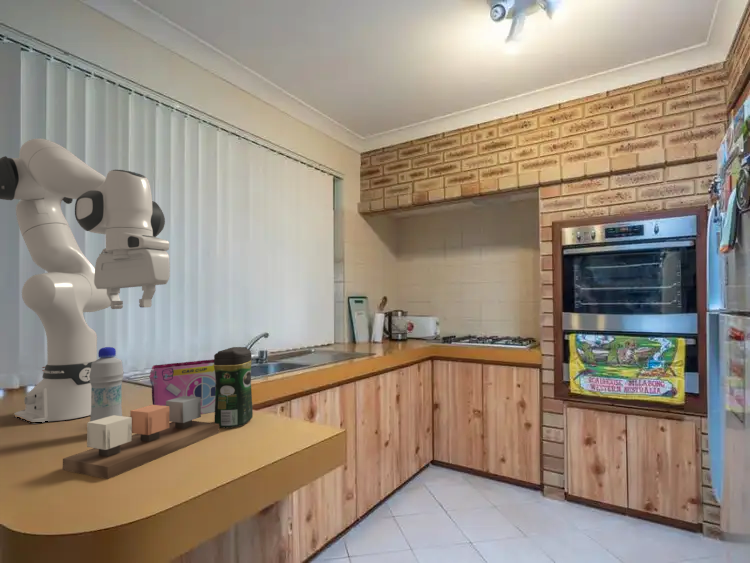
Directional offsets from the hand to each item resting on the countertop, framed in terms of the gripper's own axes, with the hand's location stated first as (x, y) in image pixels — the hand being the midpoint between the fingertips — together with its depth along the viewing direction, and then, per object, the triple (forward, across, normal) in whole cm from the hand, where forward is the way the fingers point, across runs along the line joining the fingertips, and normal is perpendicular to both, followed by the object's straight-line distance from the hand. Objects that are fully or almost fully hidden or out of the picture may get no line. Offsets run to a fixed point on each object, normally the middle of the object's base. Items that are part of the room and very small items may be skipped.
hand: (130, 308), depth 88 cm
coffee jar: (+29, +9, +20) cm, 37 cm away
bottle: (+29, -13, +3) cm, 32 cm away
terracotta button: (+25, +6, 0) cm, 26 cm away
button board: (+29, +6, 0) cm, 30 cm away
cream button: (+25, +6, -9) cm, 27 cm away
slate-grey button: (+25, +6, +8) cm, 27 cm away
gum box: (+29, -9, +26) cm, 40 cm away
